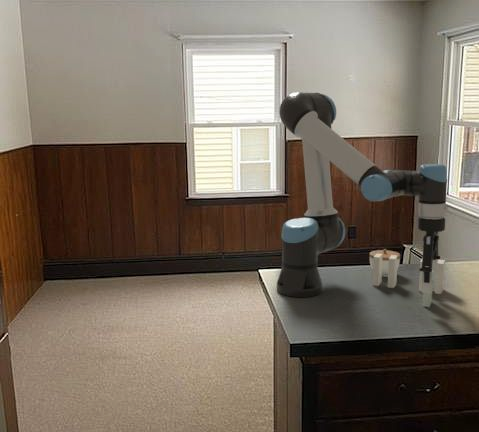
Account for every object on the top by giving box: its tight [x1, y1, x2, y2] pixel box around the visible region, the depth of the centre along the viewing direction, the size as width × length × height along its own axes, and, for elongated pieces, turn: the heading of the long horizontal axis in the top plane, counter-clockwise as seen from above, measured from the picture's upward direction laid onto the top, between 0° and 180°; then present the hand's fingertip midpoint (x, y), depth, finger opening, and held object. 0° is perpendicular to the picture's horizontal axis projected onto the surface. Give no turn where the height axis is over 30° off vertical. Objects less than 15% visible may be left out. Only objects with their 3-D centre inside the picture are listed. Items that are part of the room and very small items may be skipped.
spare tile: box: [422, 271, 434, 308], centre depth 159 cm, size 2×5×10 cm, turn 154°
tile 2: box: [387, 255, 398, 289], centre depth 177 cm, size 2×5×10 cm, turn 154°
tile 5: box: [434, 259, 446, 295], centre depth 170 cm, size 2×5×10 cm, turn 154°
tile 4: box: [418, 257, 428, 293], centre depth 172 cm, size 2×5×10 cm, turn 154°
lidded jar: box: [369, 248, 401, 278], centre depth 189 cm, size 11×11×9 cm
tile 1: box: [372, 254, 383, 287], centre depth 179 cm, size 2×5×10 cm, turn 154°
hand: (429, 286), depth 158 cm, fingers open, 13 cm apart
